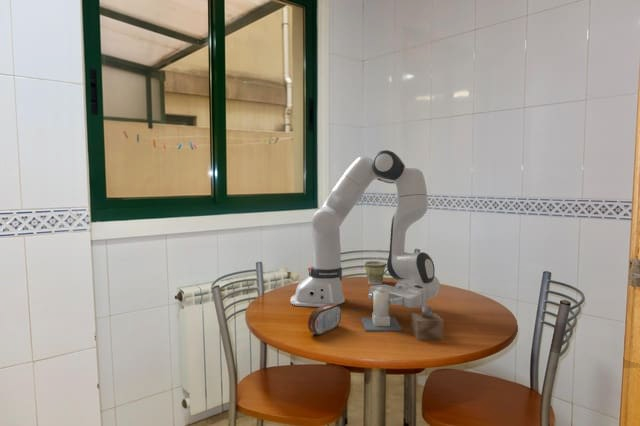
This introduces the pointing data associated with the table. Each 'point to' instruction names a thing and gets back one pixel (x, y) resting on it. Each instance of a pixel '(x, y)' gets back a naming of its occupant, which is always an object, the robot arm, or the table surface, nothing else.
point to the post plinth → (427, 325)
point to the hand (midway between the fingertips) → (379, 299)
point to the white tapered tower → (381, 307)
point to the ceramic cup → (375, 272)
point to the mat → (370, 326)
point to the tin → (324, 319)
